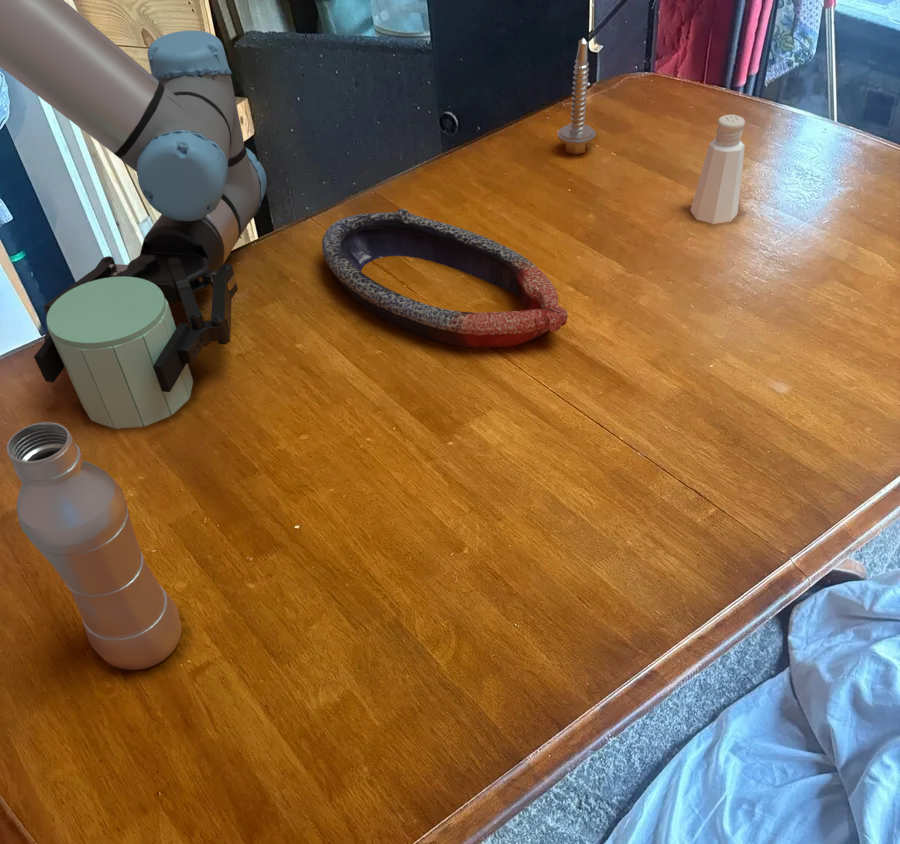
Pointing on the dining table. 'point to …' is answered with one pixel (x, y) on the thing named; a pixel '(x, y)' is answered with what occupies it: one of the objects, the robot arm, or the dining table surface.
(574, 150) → the screw
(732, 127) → the salt shaker
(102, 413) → the green ribbed canister
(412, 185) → the dining table surface
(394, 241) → the grey speckled oval ring
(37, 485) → the plastic bottle
